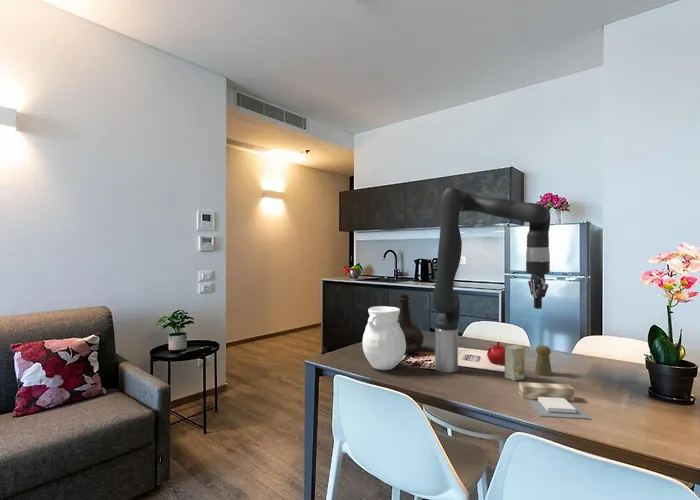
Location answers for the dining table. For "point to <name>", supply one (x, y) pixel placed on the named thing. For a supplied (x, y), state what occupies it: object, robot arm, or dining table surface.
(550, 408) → the tile
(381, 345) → the pitcher
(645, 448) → the dining table surface
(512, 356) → the skincare box
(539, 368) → the olive pawn figure
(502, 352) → the pomegranate
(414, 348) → the glass bottle
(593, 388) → the dining table surface
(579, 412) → the mat
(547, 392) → the beech block
